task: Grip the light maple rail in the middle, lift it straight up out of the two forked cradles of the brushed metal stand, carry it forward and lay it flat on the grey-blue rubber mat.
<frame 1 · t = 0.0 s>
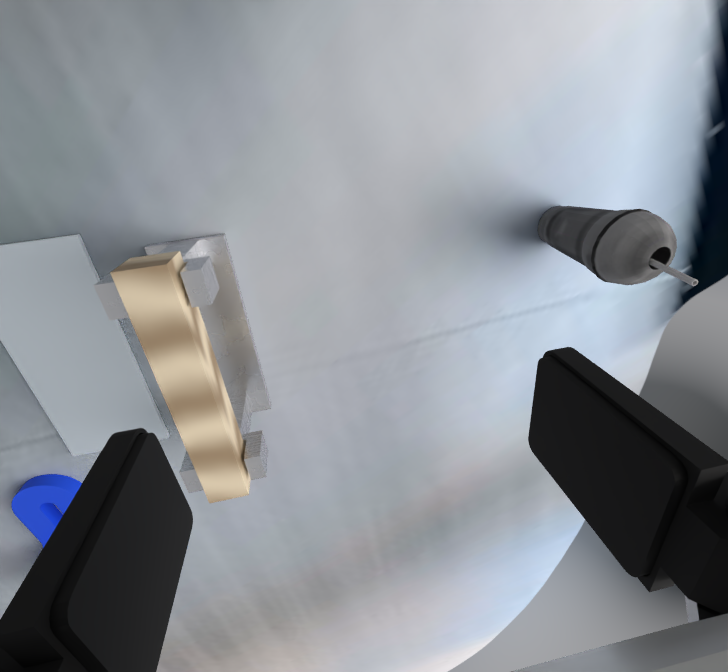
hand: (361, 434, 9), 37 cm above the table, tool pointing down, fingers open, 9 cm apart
bracket: (76, 516, 56), on the table
rail stand: (217, 333, 47), on the table
rail: (200, 379, 38), point 10 cm above the table, touching rail stand
mat: (77, 357, 45), on the table
beverage cup: (553, 224, 48), on the table
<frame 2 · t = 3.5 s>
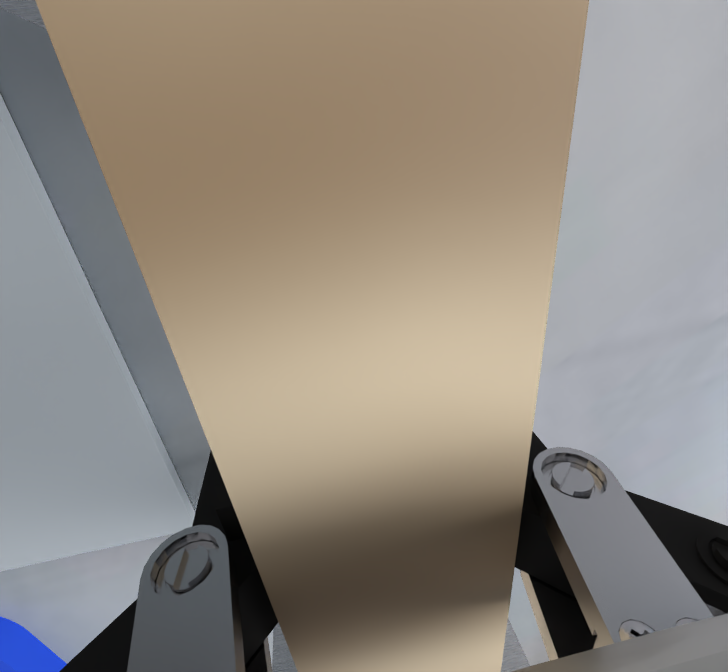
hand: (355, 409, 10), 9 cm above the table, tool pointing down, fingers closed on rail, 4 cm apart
rail stand: (326, 290, 19), on the table
rail: (359, 425, 10), point 10 cm above the table, touching gripper, rail stand
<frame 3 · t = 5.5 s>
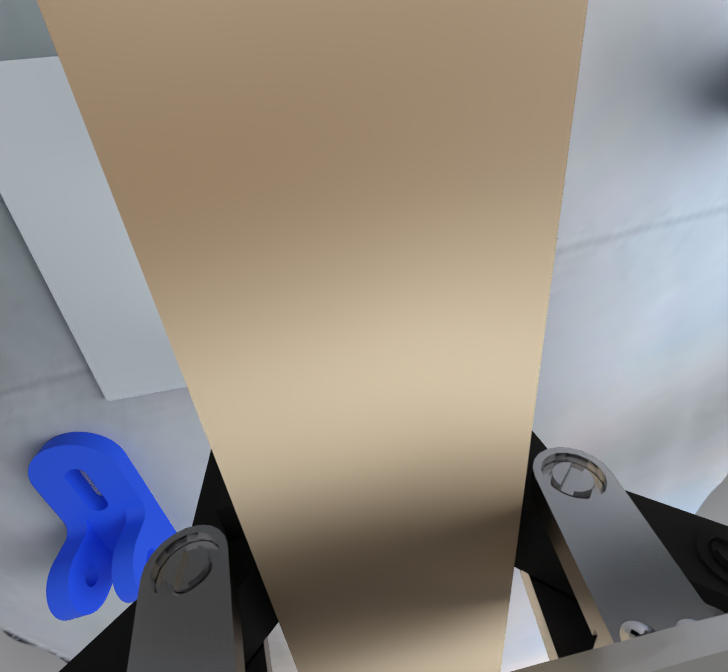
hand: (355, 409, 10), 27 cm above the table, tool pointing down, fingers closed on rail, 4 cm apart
bracket: (109, 491, 43), on the table
rail: (360, 426, 10), point 27 cm above the table, touching gripper
mat: (118, 254, 32), on the table
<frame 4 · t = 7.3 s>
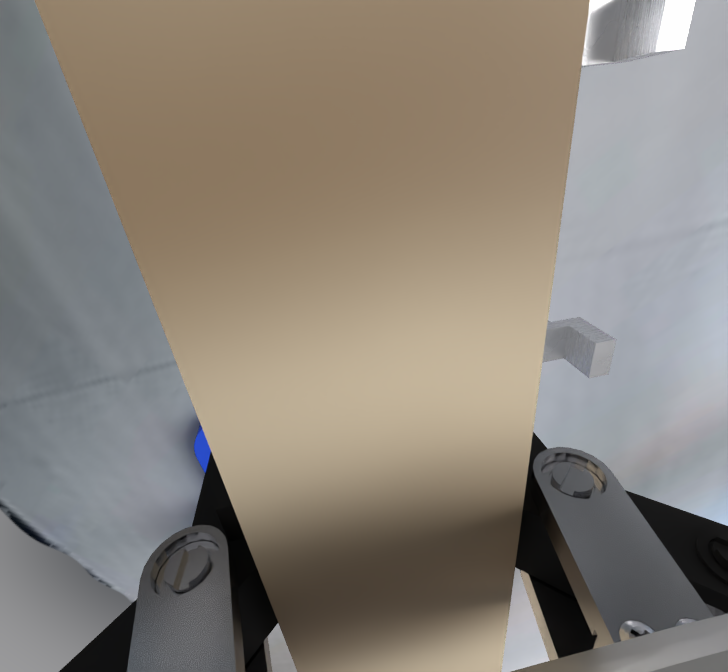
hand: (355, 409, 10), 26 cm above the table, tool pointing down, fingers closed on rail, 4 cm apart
bracket: (253, 464, 44), on the table
rail stand: (487, 198, 35), on the table
rail: (360, 428, 10), point 26 cm above the table, touching gripper
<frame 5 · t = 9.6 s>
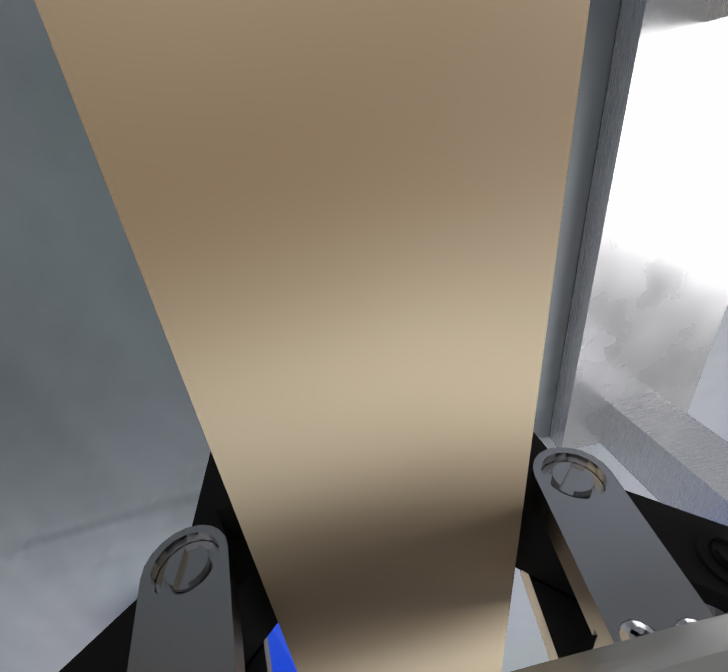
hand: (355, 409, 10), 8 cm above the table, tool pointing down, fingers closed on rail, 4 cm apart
bracket: (236, 640, 29), on the table
rail stand: (654, 244, 19), on the table
rail: (360, 428, 10), point 9 cm above the table, touching gripper
when the fingers open (2 cm above the table, at t = 11.4 s): rail drops 2 cm, resting on mat.
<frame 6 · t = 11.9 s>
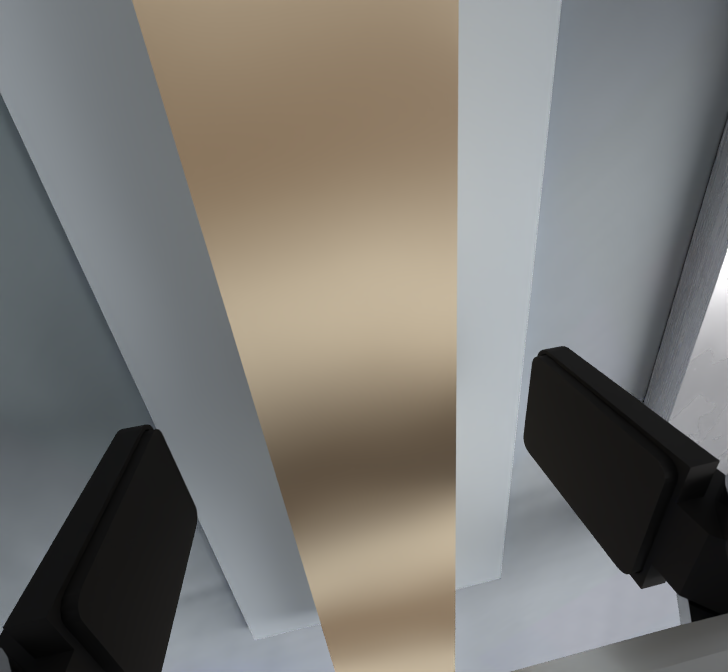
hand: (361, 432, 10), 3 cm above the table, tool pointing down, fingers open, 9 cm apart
rail: (346, 371, 12), point 1 cm above the table, touching mat
mat: (344, 362, 13), on the table
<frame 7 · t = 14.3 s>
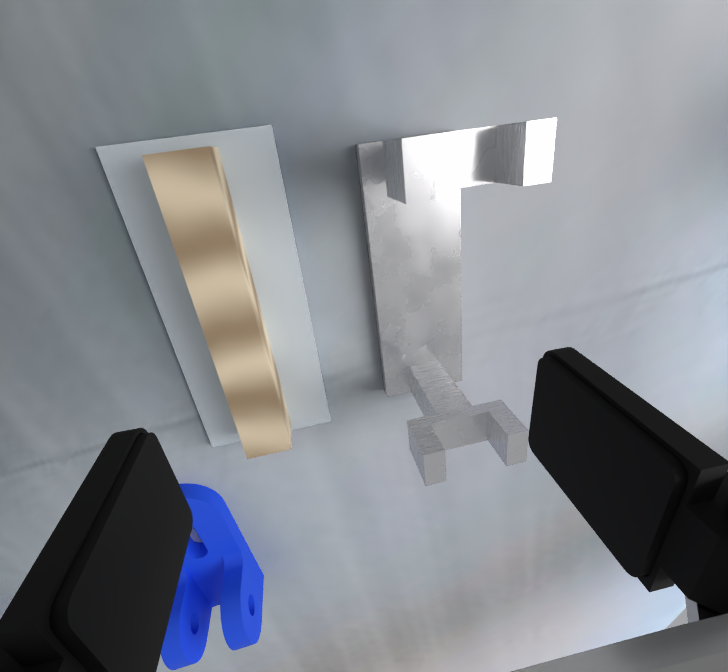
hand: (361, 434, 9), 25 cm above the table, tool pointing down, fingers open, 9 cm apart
bracket: (204, 537, 44), on the table
rail stand: (414, 277, 35), on the table
rail: (236, 311, 33), point 1 cm above the table, touching mat
mat: (237, 309, 33), on the table
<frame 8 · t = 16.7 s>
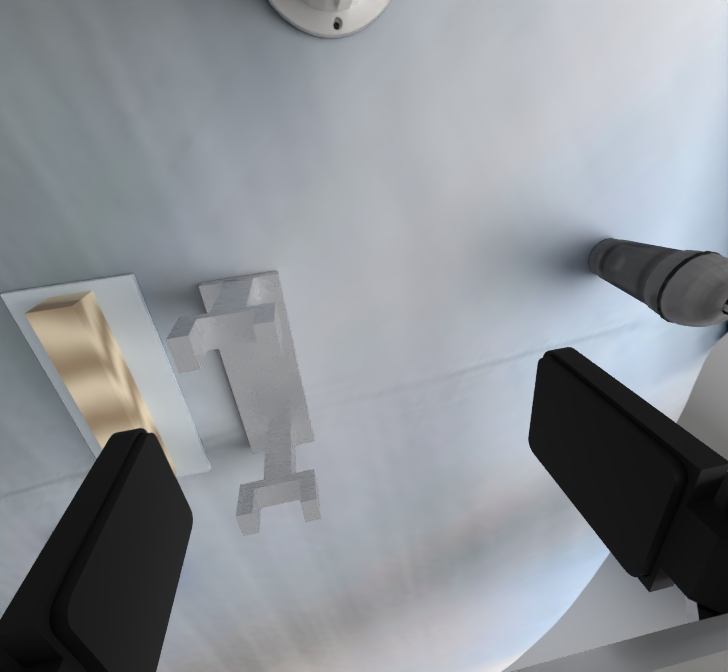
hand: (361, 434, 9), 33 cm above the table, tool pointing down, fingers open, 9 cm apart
rail stand: (264, 368, 46), on the table
rail: (121, 396, 44), point 1 cm above the table, touching mat
mat: (124, 393, 44), on the table
beverage cup: (604, 256, 47), on the table
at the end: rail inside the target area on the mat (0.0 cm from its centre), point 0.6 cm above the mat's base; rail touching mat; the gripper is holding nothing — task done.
